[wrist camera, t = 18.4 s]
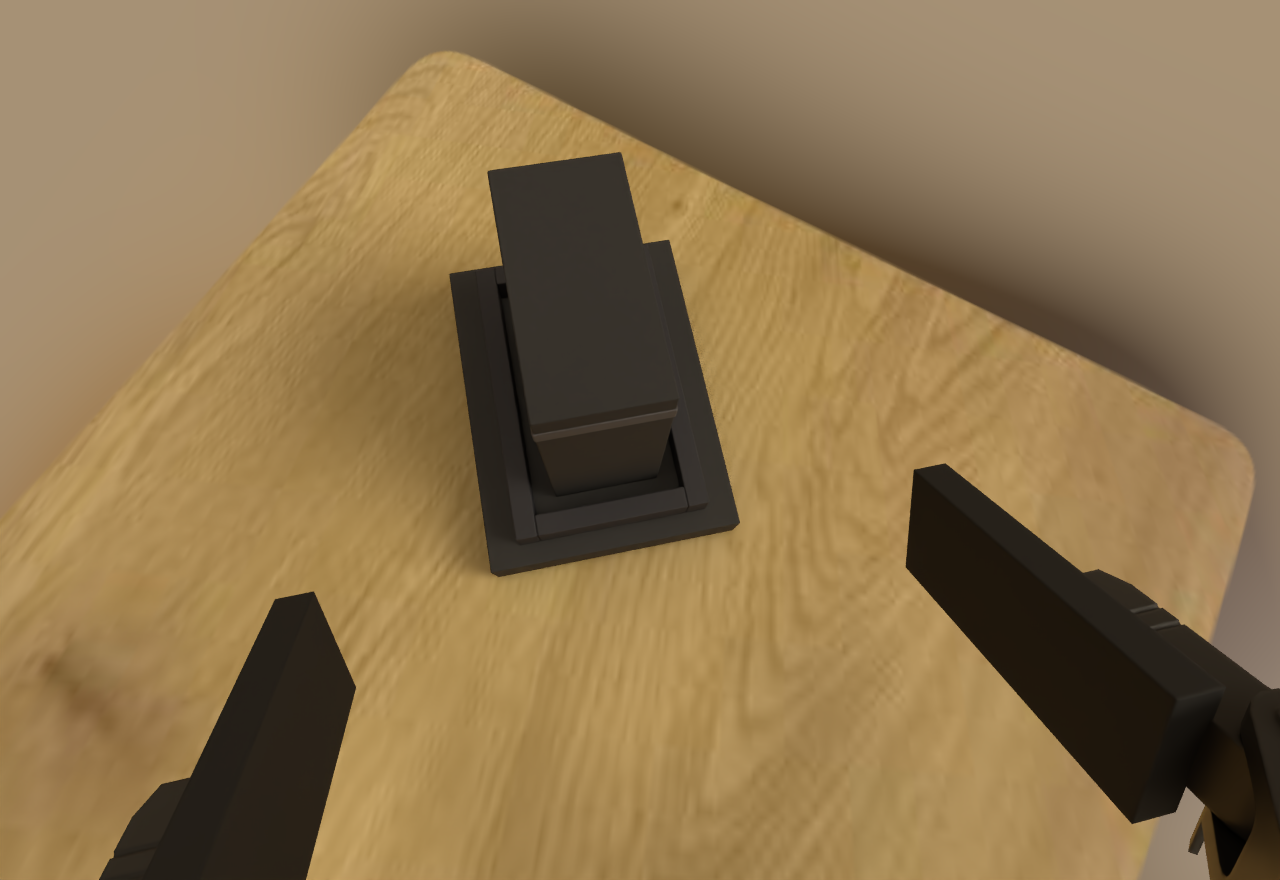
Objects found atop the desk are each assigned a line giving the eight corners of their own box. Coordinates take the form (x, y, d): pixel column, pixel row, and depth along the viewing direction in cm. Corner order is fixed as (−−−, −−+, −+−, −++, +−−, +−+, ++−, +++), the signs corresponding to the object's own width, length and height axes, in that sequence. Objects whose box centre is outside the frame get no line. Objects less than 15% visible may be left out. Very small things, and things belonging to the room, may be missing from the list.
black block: (555, 498, 32) (527, 427, 21) (523, 312, 35) (485, 169, 24) (658, 478, 32) (681, 399, 22) (618, 297, 35) (622, 149, 25)
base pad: (497, 577, 33) (484, 569, 29) (457, 292, 37) (442, 257, 34) (733, 529, 34) (746, 517, 31) (666, 259, 38) (671, 222, 35)
